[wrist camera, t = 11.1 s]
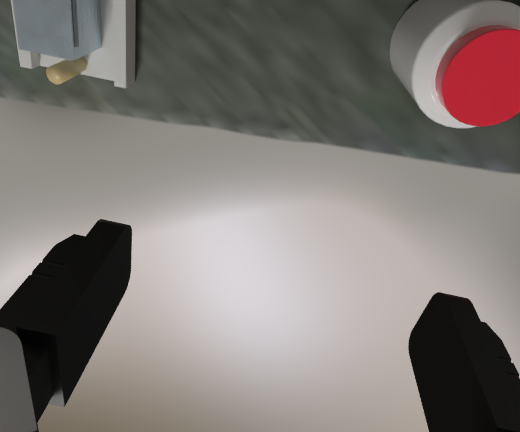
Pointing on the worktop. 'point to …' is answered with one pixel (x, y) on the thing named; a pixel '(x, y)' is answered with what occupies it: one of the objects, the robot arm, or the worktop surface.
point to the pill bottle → (460, 60)
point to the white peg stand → (101, 60)
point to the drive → (59, 27)
